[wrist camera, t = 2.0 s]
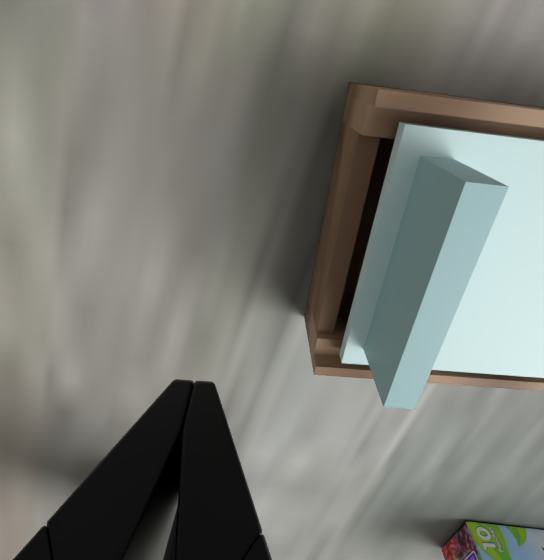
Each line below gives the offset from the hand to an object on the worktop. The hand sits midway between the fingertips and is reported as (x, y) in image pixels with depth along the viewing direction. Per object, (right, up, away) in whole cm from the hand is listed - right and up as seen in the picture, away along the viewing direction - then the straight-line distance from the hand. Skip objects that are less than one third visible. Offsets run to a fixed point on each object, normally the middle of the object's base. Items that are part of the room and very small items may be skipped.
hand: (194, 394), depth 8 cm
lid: (+14, +3, +8) cm, 16 cm away
